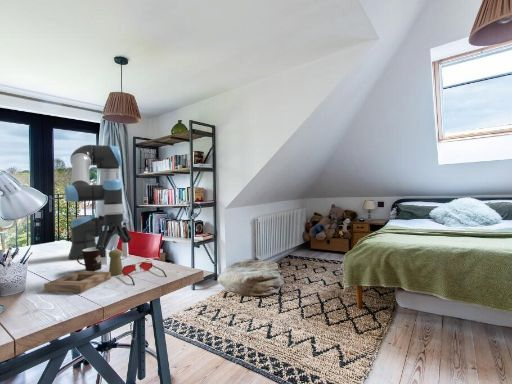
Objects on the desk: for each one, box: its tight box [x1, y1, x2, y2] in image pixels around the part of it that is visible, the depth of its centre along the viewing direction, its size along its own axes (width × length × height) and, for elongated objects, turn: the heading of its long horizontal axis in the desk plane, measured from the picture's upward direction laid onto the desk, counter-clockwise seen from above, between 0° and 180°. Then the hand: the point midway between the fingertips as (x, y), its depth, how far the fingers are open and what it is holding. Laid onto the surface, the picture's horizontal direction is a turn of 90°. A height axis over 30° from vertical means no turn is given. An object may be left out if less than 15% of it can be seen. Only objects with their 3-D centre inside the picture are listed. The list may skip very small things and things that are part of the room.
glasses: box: [121, 260, 168, 286], centre depth 119 cm, size 14×16×5 cm
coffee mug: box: [76, 247, 102, 271], centre depth 130 cm, size 12×9×10 cm
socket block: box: [43, 270, 112, 294], centre depth 110 cm, size 16×16×3 cm
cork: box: [108, 249, 124, 277], centre depth 123 cm, size 6×6×11 cm
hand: (115, 260), depth 123 cm, fingers open, 13 cm apart
